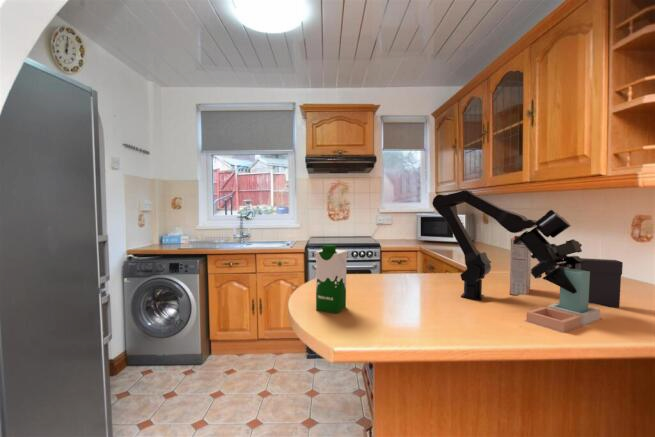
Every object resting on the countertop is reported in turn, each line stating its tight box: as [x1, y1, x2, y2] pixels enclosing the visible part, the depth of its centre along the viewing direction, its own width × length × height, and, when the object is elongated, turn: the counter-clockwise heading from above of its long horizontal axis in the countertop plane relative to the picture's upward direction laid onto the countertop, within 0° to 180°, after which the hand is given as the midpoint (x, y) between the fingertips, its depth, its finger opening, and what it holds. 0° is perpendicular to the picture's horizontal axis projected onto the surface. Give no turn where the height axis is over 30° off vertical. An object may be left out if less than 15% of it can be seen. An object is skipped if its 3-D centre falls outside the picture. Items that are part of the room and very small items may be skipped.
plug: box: [558, 268, 590, 313], centre depth 92 cm, size 5×5×12 cm
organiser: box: [524, 302, 602, 334], centre depth 89 cm, size 10×21×4 cm, turn 120°
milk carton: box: [314, 244, 348, 314], centre depth 100 cm, size 9×9×20 cm
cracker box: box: [509, 234, 532, 297], centre depth 121 cm, size 14×6×21 cm, turn 144°
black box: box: [578, 257, 624, 309], centre depth 106 cm, size 11×4×15 cm, turn 71°
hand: (579, 291), depth 91 cm, fingers closed on plug, 5 cm apart
